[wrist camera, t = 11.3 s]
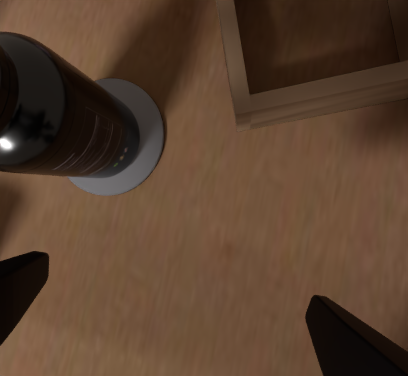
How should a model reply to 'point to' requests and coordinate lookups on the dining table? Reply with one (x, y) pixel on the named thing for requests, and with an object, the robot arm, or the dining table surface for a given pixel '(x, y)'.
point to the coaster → (148, 145)
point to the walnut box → (315, 90)
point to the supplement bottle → (59, 116)
